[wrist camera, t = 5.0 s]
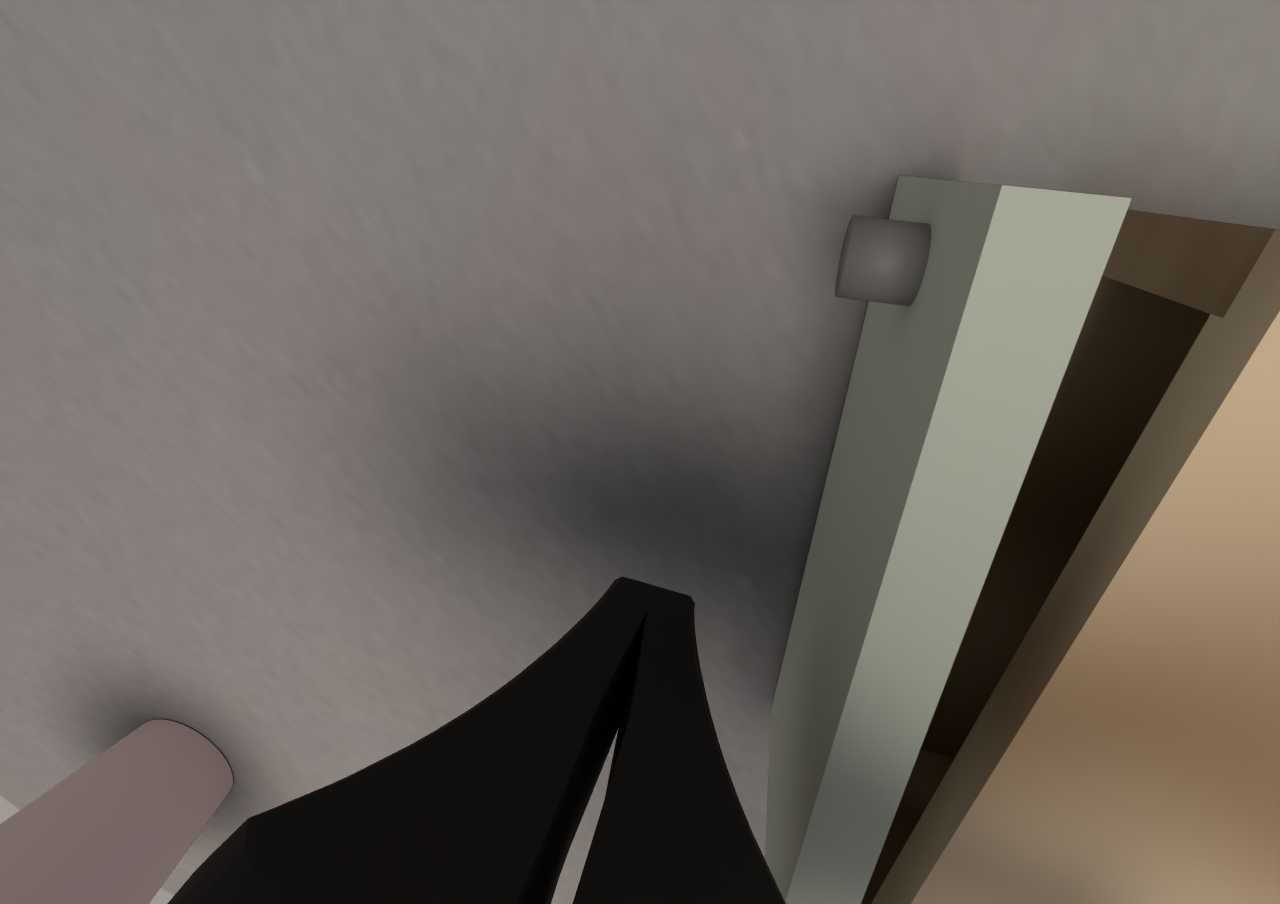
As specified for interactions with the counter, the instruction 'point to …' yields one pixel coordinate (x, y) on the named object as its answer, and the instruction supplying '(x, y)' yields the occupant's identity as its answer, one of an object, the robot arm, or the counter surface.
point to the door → (917, 495)
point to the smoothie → (115, 821)
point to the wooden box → (1125, 613)
